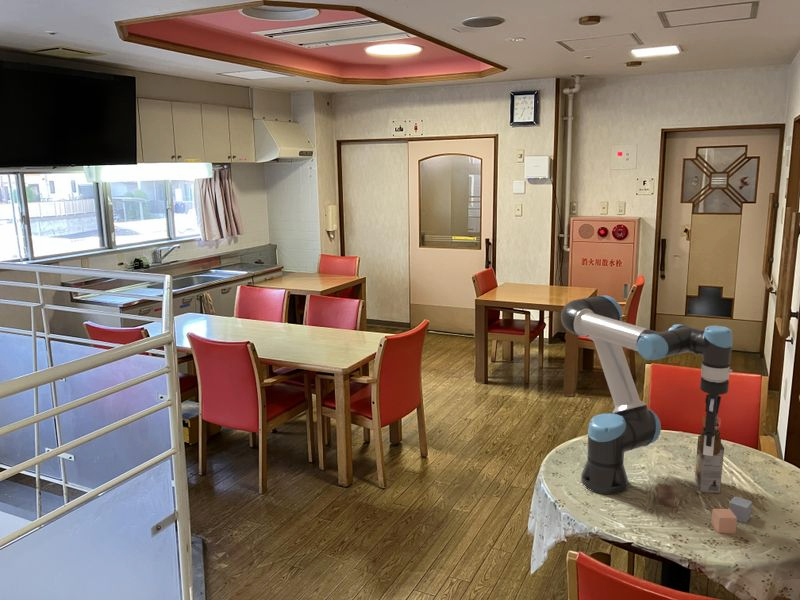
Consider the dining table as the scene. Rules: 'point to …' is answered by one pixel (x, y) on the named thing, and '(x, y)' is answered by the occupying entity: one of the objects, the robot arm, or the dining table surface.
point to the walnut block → (666, 495)
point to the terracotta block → (724, 520)
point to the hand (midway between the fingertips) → (708, 450)
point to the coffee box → (709, 470)
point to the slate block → (741, 508)
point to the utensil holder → (716, 440)
